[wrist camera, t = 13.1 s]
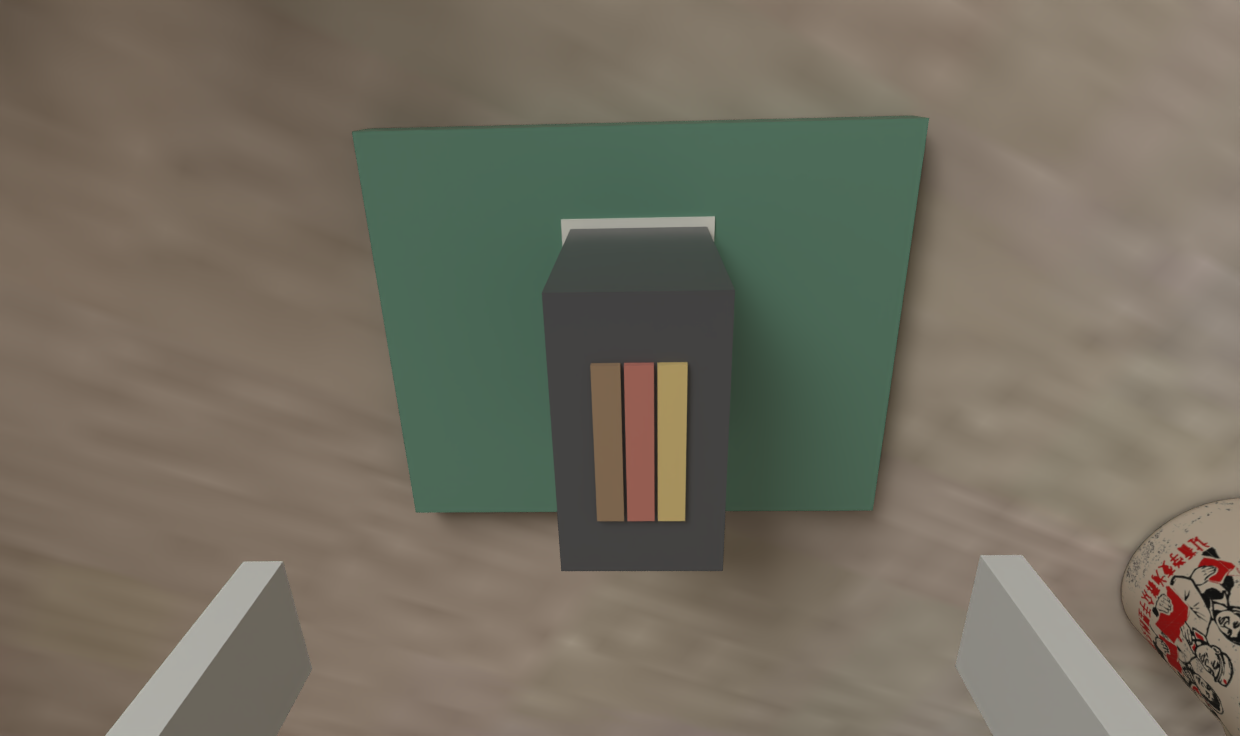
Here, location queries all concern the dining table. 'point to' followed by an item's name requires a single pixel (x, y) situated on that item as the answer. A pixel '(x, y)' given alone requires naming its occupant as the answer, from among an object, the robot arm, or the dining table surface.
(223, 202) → the dining table surface
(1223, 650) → the teacup with lid
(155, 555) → the dining table surface
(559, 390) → the plug housing
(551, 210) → the header board
